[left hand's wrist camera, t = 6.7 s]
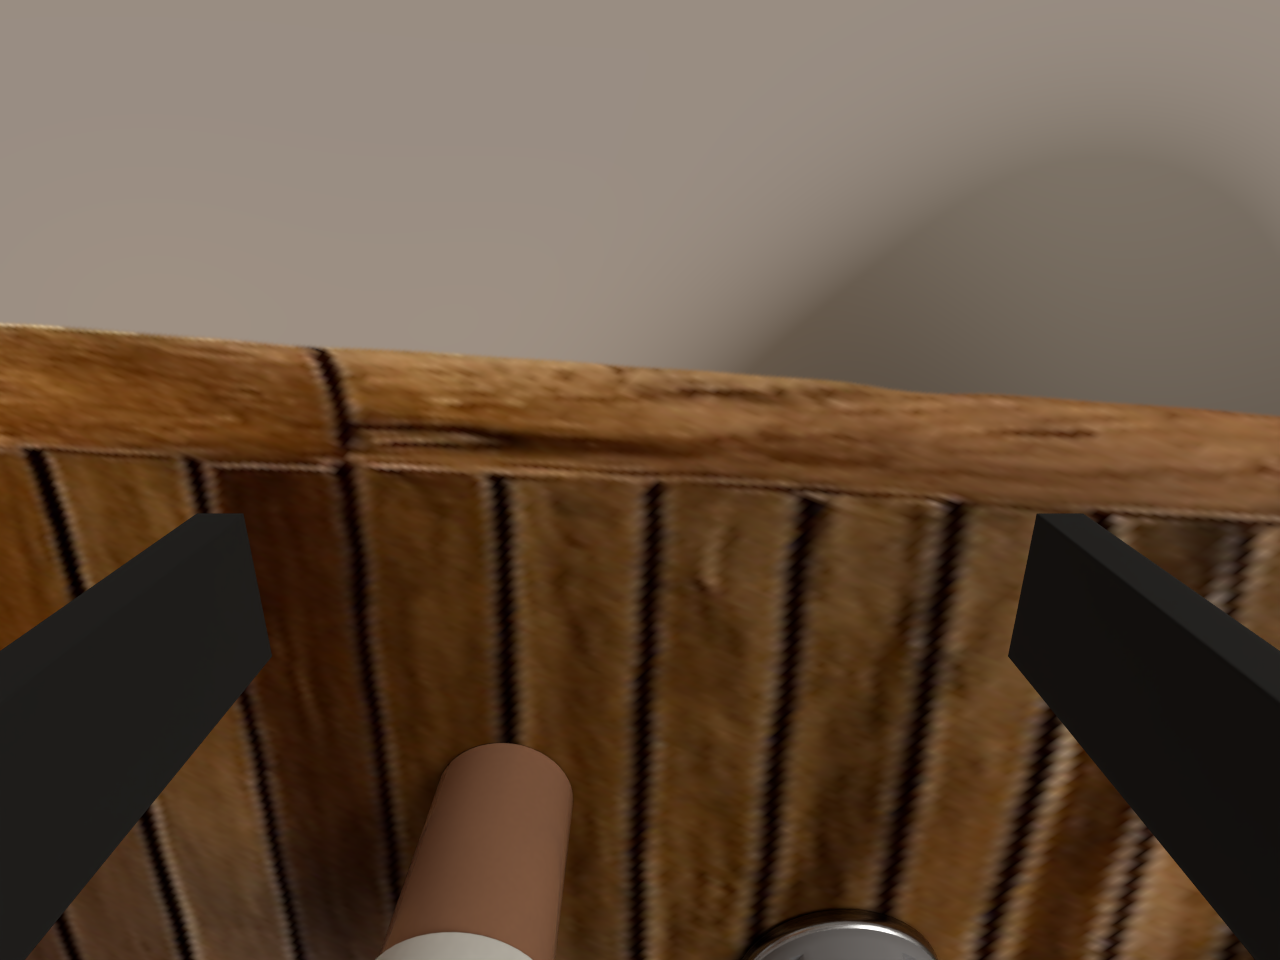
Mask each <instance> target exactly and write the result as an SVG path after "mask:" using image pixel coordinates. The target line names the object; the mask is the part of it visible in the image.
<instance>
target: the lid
mask: <svg viewBox="0 0 1280 960" xmlns="http://www.w3.org/2000/svg"><path fill="white" fill-rule="evenodd" d="M376 960H532V959H531V958H530V957H529V956H527V955H526V954H524V953H523V952H521V951H520V950H518V949H516V948H514V947H513V946H511V945H509V944H506V943H504V942H501V941H499V940H496V939H493V938H489V937H486V936H482V935H477V934H471V933H461V932H440V933H430V934H425V935H421V936H416V937H413V938H410V939H407V940H405V941H402V942H400V943H398V944H396V945H394V946H392V947H391V948H389V949H388V950H386V951H385V952H384V953H382V954H381V955H380V956H379V957H378V958H377V959H376Z"/></svg>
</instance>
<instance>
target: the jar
mask: <svg viewBox="0 0 1280 960" xmlns="http://www.w3.org/2000/svg"><path fill="white" fill-rule="evenodd" d="M572 806H573V793H572V789H571V785H570V783H569V780H568V778H567V777H566V775H565V773H564V772H563V771H562V769H561V768H560V767H559V766H558V765H557V764H556V763H555V762H554V761H553V760H551V759H550V758H549V757H547V756H546V755H544V754H542V753H541V752H539V751H536V750H534V749H532V748H529V747H526V746H522V745H517V744H511V743H492V744H485V745H481V746H477V747H474V748H472V749H469V750H467V751H465V752H463V753H462V754H460V755H459V756H457V757H456V758H455V759H454V760H453V761H452V762H451V763H450V764H449V765H448V766H447V767H446V769H445V770H444V772H443V774H442V776H441V778H440V781H439V784H438V787H437V789H436V792H435V795H434V798H433V801H432V804H431V807H430V810H429V812H428V815H427V818H426V821H425V824H424V827H423V830H422V833H421V836H420V838H419V841H418V844H417V847H416V850H415V853H414V856H413V859H412V862H411V864H410V867H409V870H408V873H407V876H406V879H405V882H404V885H403V887H402V890H401V893H400V896H399V899H398V902H397V905H396V908H395V911H394V913H393V916H392V919H391V922H390V925H389V928H388V931H387V934H386V937H385V939H384V942H383V945H382V948H381V951H380V954H379V956H380V955H381V954H382V953H384V952H385V951H386V950H388V949H389V948H391V947H392V946H394V945H396V944H398V943H400V942H402V941H405V940H407V939H410V938H413V937H416V936H421V935H425V934H430V933H440V932H461V933H471V934H477V935H482V936H486V937H489V938H493V939H496V940H499V941H501V942H504V943H506V944H509V945H511V946H513V947H514V948H516V949H518V950H520V951H521V952H523V953H524V954H526V955H527V956H529V957H530V958H531V959H532V960H555V958H556V950H557V941H558V932H559V923H560V914H561V905H562V896H563V887H564V878H565V869H566V860H567V851H568V842H569V833H570V824H571V815H572Z"/></svg>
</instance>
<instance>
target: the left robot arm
mask: <svg viewBox="0 0 1280 960" xmlns="http://www.w3.org/2000/svg"><path fill="white" fill-rule="evenodd" d="M271 657H272V654H271V649H270V644H269V639H268V634H267V629H266V624H265V619H264V614H263V609H262V605H261V600H260V595H259V590H258V585H257V580H256V575H255V570H254V565H253V560H252V555H251V550H250V545H249V540H248V535H247V530H246V525H245V520H244V515H243V514H196V515H194V516H193V517H191V518H190V519H189V520H187V521H186V522H184V523H183V524H181V525H180V526H178V527H177V528H176V529H174V530H173V531H171V532H170V533H168V534H167V535H166V536H164V537H163V538H161V539H160V540H158V541H157V542H156V543H154V544H153V545H151V546H150V547H148V548H147V549H146V550H144V551H143V552H141V553H140V554H138V555H137V556H136V557H134V558H133V559H131V560H130V561H128V562H127V563H126V564H124V565H123V566H121V567H120V568H118V569H117V570H116V571H114V572H113V573H111V574H110V575H108V576H107V577H105V578H104V579H103V580H101V581H100V582H98V583H97V584H95V585H94V586H93V587H91V588H90V589H88V590H87V591H85V592H84V593H83V594H81V595H80V596H78V597H77V598H75V599H74V600H73V601H71V602H70V603H68V604H67V605H65V606H64V607H63V608H61V609H60V610H58V611H57V612H55V613H54V614H53V615H51V616H50V617H48V618H47V619H45V620H44V621H42V622H41V623H40V624H38V625H37V626H35V627H34V628H32V629H31V630H30V631H28V632H27V633H25V634H24V635H22V636H21V637H20V638H18V639H17V640H15V641H14V642H12V643H11V644H10V645H8V646H7V647H5V648H4V649H2V650H1V651H0V960H25V959H26V958H27V956H28V955H29V954H30V953H31V951H32V950H33V949H34V948H35V947H36V945H37V944H38V943H39V942H40V940H41V939H42V938H43V937H44V936H45V934H46V933H47V932H48V931H49V929H50V928H51V927H52V926H53V924H54V923H55V922H56V921H57V920H58V918H59V917H60V916H61V915H62V913H63V912H64V911H65V910H66V908H67V907H68V906H69V905H70V904H71V902H72V901H73V900H74V899H75V897H76V896H77V895H78V894H79V893H80V891H81V890H82V889H83V888H84V886H85V885H86V884H87V883H88V881H89V880H90V879H91V878H92V877H93V875H94V874H95V873H96V872H97V870H98V869H99V868H100V867H101V865H102V864H103V863H104V862H105V861H106V859H107V858H108V857H109V856H110V854H111V853H112V852H113V851H114V850H115V848H116V847H117V846H118V845H119V843H120V842H121V841H122V840H123V838H124V837H125V836H126V835H127V834H128V832H129V831H130V830H131V829H132V827H133V826H134V825H135V824H136V823H137V821H138V820H139V819H140V818H141V816H142V815H143V814H144V813H145V811H146V810H147V809H148V808H149V807H150V805H151V804H152V803H153V802H154V800H155V799H156V798H157V797H158V795H159V794H160V793H161V792H162V791H163V789H164V788H165V787H166V786H167V784H168V783H169V782H170V781H171V780H172V778H173V777H174V776H175V775H176V773H177V772H178V771H179V770H180V768H181V767H182V766H183V765H184V764H185V762H186V761H187V760H188V759H189V757H190V756H191V755H192V754H193V753H194V751H195V750H196V749H197V748H198V746H199V745H200V744H201V743H202V741H203V740H204V739H205V738H206V737H207V735H208V734H209V733H210V732H211V730H212V729H213V728H214V727H215V725H216V724H217V723H218V722H219V721H220V719H221V718H222V717H223V716H224V714H225V713H226V712H227V711H228V710H229V708H230V707H231V706H232V705H233V703H234V702H235V701H236V700H237V698H238V697H239V696H240V695H241V694H242V692H243V691H244V690H245V689H246V687H247V686H248V685H249V684H250V682H251V681H252V680H253V679H254V678H255V676H256V675H257V674H258V673H259V671H260V670H261V669H262V668H263V667H264V665H265V664H266V663H267V662H268V660H269V659H270V658H271ZM1008 657H1009V658H1010V659H1011V660H1012V662H1013V663H1014V664H1015V665H1016V667H1017V668H1018V669H1019V670H1020V671H1021V673H1022V674H1023V675H1024V676H1025V678H1026V679H1027V680H1028V681H1029V682H1030V684H1031V685H1032V686H1033V687H1034V689H1035V690H1036V691H1037V692H1038V694H1039V695H1040V696H1041V697H1042V698H1043V700H1044V701H1045V702H1046V703H1047V705H1048V706H1049V707H1050V708H1051V710H1052V711H1053V712H1054V713H1055V714H1056V716H1057V717H1058V718H1059V719H1060V721H1061V722H1062V723H1063V724H1064V725H1065V727H1066V728H1067V729H1068V730H1069V732H1070V733H1071V734H1072V735H1073V737H1074V738H1075V739H1076V740H1077V741H1078V743H1079V744H1080V745H1081V746H1082V748H1083V749H1084V750H1085V751H1086V753H1087V754H1088V755H1089V756H1090V757H1091V759H1092V760H1093V761H1094V762H1095V764H1096V765H1097V766H1098V767H1099V768H1100V770H1101V771H1102V772H1103V773H1104V775H1105V776H1106V777H1107V778H1108V780H1109V781H1110V782H1111V783H1112V784H1113V786H1114V787H1115V788H1116V789H1117V791H1118V792H1119V793H1120V794H1121V795H1122V797H1123V798H1124V799H1125V800H1126V802H1127V803H1128V804H1129V805H1130V807H1131V808H1132V809H1133V810H1134V811H1135V813H1136V814H1137V815H1138V816H1139V818H1140V819H1141V820H1142V821H1143V823H1144V824H1145V825H1146V826H1147V827H1148V829H1149V830H1150V831H1151V832H1152V834H1153V835H1154V836H1155V837H1156V838H1157V840H1158V841H1159V842H1160V843H1161V845H1162V846H1163V847H1164V848H1165V850H1166V851H1167V852H1168V853H1169V854H1170V856H1171V857H1172V858H1173V859H1174V861H1175V862H1176V863H1177V864H1178V865H1179V867H1180V868H1181V869H1182V870H1183V872H1184V873H1185V874H1186V875H1187V877H1188V878H1189V879H1190V880H1191V881H1192V883H1193V884H1194V885H1195V886H1196V888H1197V889H1198V890H1199V891H1200V893H1201V894H1202V895H1203V896H1204V897H1205V899H1206V900H1207V901H1208V902H1209V904H1210V905H1211V906H1212V907H1213V908H1214V910H1215V911H1216V912H1217V913H1218V915H1219V916H1220V917H1221V918H1222V920H1223V921H1224V922H1225V923H1226V924H1227V926H1228V927H1229V928H1230V929H1231V931H1232V932H1233V933H1234V934H1235V936H1236V937H1237V938H1238V939H1239V940H1240V942H1241V943H1242V944H1243V945H1244V947H1245V948H1246V949H1247V950H1248V951H1249V953H1250V954H1251V955H1252V956H1253V958H1254V959H1255V960H1280V651H1279V650H1278V649H1276V648H1275V647H1273V646H1272V645H1270V644H1269V643H1268V642H1266V641H1265V640H1263V639H1262V638H1260V637H1259V636H1258V635H1256V634H1255V633H1253V632H1252V631H1250V630H1249V629H1248V628H1246V627H1245V626H1243V625H1242V624H1240V623H1239V622H1238V621H1236V620H1235V619H1233V618H1232V617H1230V616H1229V615H1227V614H1226V613H1225V612H1223V611H1222V610H1220V609H1219V608H1217V607H1216V606H1215V605H1213V604H1212V603H1210V602H1209V601H1207V600H1206V599H1205V598H1203V597H1202V596H1200V595H1199V594H1197V593H1196V592H1195V591H1193V590H1192V589H1190V588H1189V587H1187V586H1186V585H1185V584H1183V583H1182V582H1180V581H1179V580H1177V579H1176V578H1175V577H1173V576H1172V575H1170V574H1169V573H1167V572H1166V571H1164V570H1163V569H1162V568H1160V567H1159V566H1157V565H1156V564H1154V563H1153V562H1152V561H1150V560H1149V559H1147V558H1146V557H1144V556H1143V555H1142V554H1140V553H1139V552H1137V551H1136V550H1134V549H1133V548H1132V547H1130V546H1129V545H1127V544H1126V543H1124V542H1123V541H1122V540H1120V539H1119V538H1117V537H1116V536H1114V535H1113V534H1112V533H1110V532H1109V531H1107V530H1106V529H1104V528H1103V527H1102V526H1100V525H1099V524H1097V523H1096V522H1094V521H1093V520H1091V519H1090V518H1089V517H1087V516H1086V515H1084V514H1037V515H1036V520H1035V525H1034V530H1033V535H1032V540H1031V545H1030V550H1029V555H1028V560H1027V565H1026V570H1025V575H1024V580H1023V585H1022V590H1021V595H1020V600H1019V605H1018V609H1017V614H1016V619H1015V624H1014V629H1013V634H1012V639H1011V644H1010V649H1009V654H1008ZM742 960H938V959H937V956H936V954H935V952H934V950H933V948H932V947H931V945H930V944H929V942H928V941H927V940H926V939H925V938H924V937H923V936H922V935H921V934H920V933H919V932H918V931H916V930H915V929H914V928H912V927H911V926H909V925H907V924H906V923H904V922H902V921H900V920H898V919H895V918H893V917H890V916H887V915H884V914H880V913H876V912H871V911H865V910H852V909H841V910H829V911H821V912H816V913H812V914H808V915H804V916H801V917H798V918H795V919H792V920H790V921H788V922H786V923H783V924H782V925H780V926H778V927H776V928H774V929H773V930H771V931H770V932H768V933H766V934H765V935H764V936H763V937H761V938H760V939H759V940H758V941H757V942H756V943H755V944H754V945H753V946H752V947H751V948H750V949H749V950H748V951H747V953H746V954H745V956H744V957H743V959H742Z"/></svg>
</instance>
